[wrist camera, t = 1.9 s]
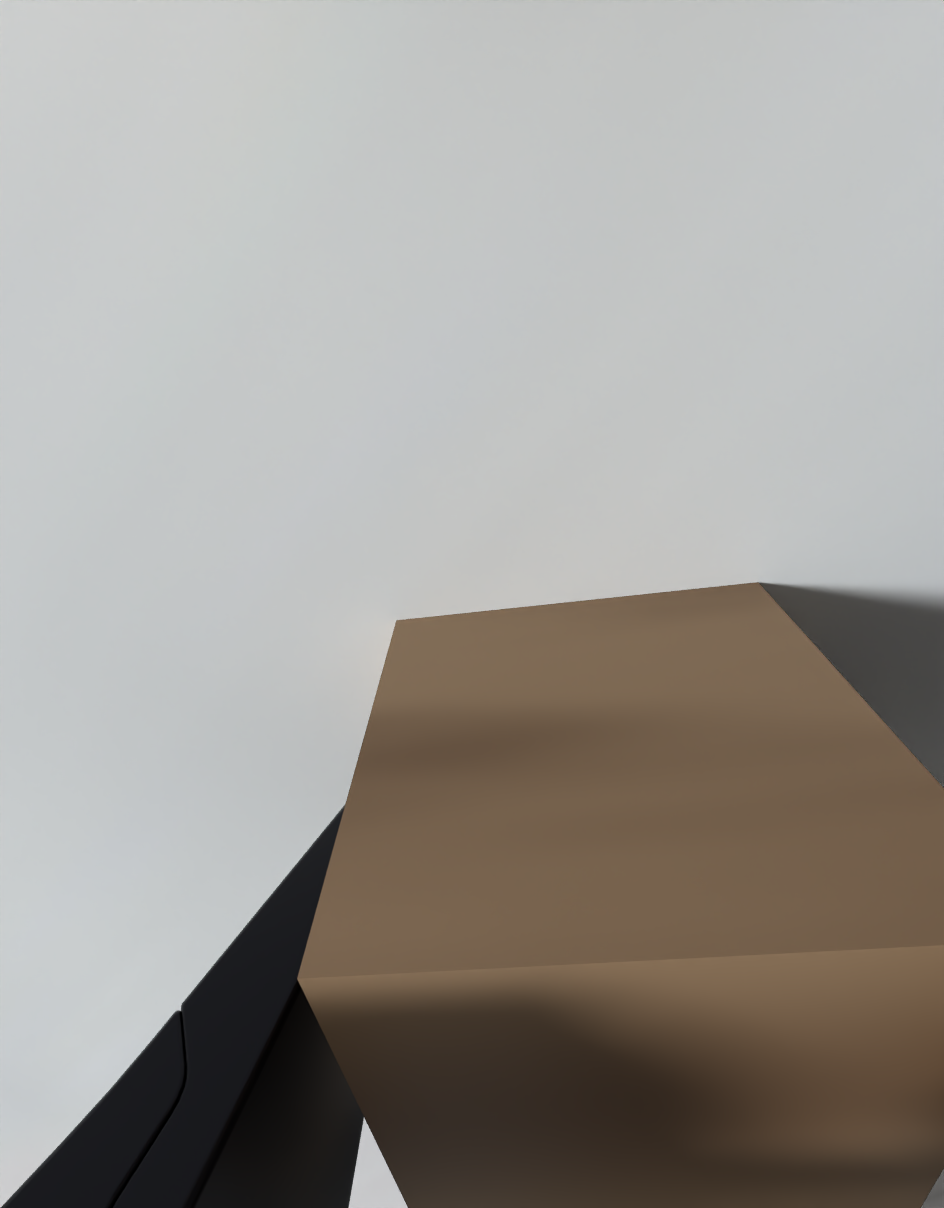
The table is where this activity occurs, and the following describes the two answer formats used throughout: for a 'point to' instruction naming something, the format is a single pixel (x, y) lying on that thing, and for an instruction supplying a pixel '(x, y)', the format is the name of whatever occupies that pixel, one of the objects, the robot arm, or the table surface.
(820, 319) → the table surface
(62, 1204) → the robot arm
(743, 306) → the table surface
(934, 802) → the walnut block
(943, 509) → the table surface
